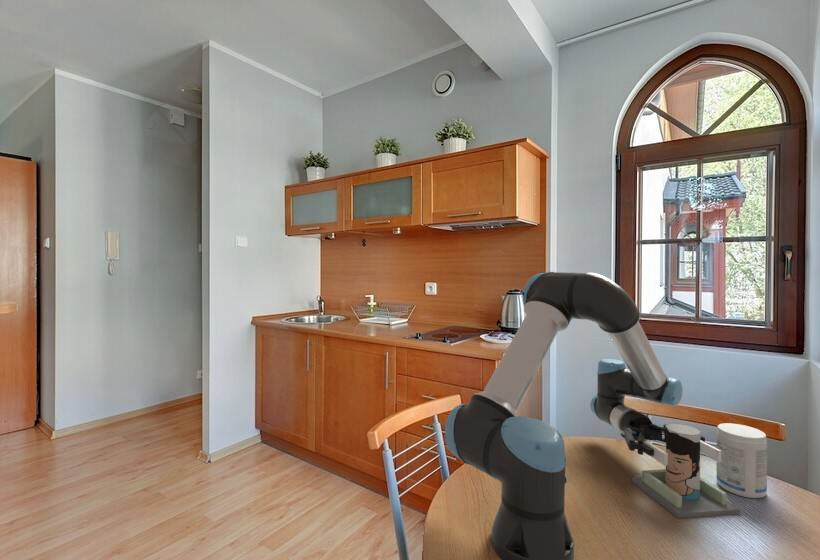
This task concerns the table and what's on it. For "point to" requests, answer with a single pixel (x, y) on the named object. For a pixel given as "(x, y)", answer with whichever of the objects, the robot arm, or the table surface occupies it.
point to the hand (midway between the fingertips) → (693, 458)
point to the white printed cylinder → (683, 460)
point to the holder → (706, 505)
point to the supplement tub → (742, 460)
